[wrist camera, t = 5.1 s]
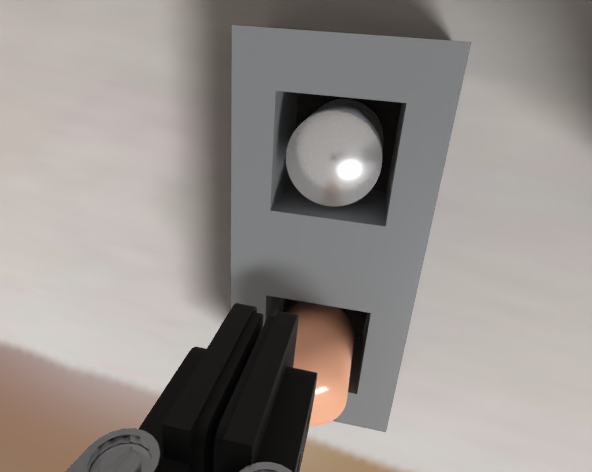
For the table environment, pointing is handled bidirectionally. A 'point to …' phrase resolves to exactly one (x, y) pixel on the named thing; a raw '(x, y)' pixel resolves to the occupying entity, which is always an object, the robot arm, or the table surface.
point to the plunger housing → (349, 218)
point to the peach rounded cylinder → (324, 356)
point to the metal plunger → (336, 153)
